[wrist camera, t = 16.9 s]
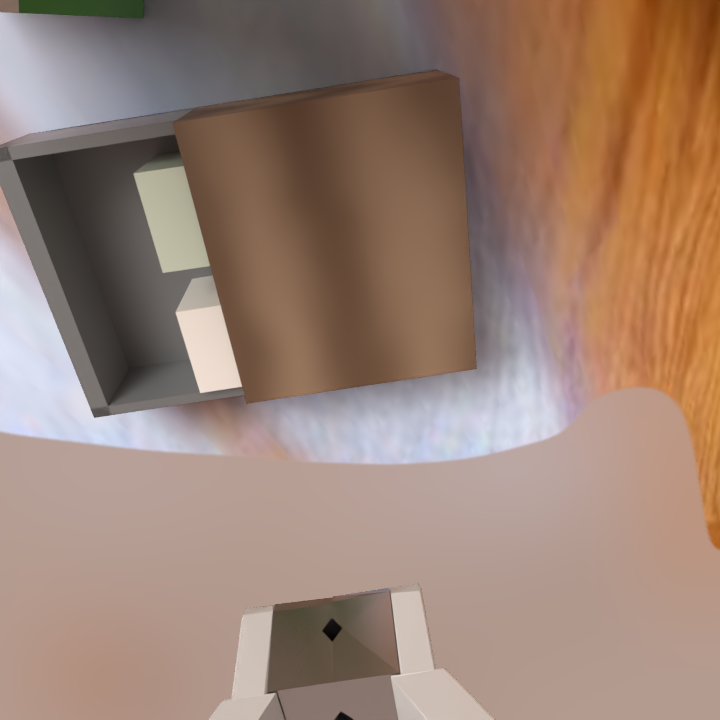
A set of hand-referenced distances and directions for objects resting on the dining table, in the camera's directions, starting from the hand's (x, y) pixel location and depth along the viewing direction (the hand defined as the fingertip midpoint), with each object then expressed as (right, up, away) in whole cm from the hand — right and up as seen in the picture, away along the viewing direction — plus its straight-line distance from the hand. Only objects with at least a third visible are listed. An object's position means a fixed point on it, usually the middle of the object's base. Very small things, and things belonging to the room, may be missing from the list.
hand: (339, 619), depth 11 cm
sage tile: (-8, +13, +22) cm, 27 cm away
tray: (-12, +11, +27) cm, 31 cm away
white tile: (-7, +6, +26) cm, 27 cm away
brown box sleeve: (-1, +12, +26) cm, 29 cm away
